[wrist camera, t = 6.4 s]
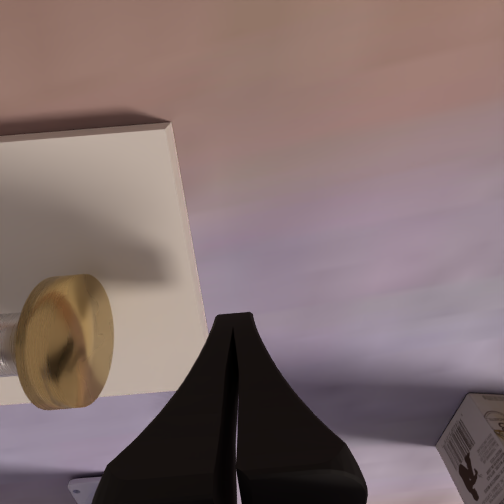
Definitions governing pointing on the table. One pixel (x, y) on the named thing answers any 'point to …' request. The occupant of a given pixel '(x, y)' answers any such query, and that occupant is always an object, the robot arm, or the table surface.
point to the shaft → (60, 342)
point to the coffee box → (476, 449)
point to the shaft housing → (106, 243)
